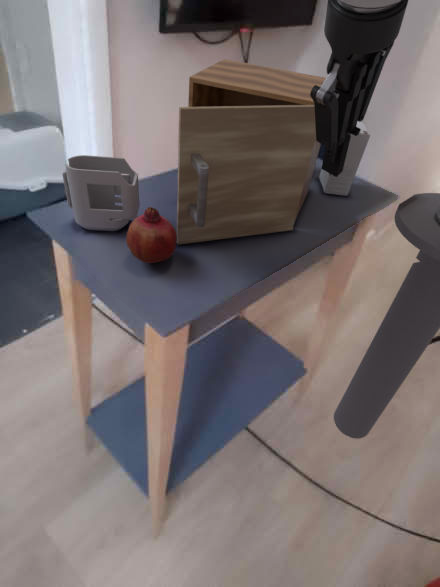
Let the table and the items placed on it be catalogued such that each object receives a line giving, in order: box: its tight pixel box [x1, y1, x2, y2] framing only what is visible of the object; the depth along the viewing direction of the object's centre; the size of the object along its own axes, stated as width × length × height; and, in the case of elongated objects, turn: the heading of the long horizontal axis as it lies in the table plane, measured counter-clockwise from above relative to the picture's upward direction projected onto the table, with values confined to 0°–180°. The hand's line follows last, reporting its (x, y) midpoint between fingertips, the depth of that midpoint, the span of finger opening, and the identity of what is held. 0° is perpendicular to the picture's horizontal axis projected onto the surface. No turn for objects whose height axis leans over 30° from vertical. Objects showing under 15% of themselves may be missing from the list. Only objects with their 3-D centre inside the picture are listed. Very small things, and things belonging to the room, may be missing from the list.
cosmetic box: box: [318, 120, 371, 197], centre depth 89 cm, size 8×6×15 cm
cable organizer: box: [62, 154, 141, 232], centre depth 70 cm, size 7×12×12 cm, turn 93°
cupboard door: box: [176, 105, 316, 245], centre depth 65 cm, size 6×24×23 cm, turn 110°
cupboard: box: [187, 58, 327, 224], centre depth 80 cm, size 18×24×24 cm
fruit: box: [125, 206, 177, 264], centre depth 64 cm, size 8×8×10 cm
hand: (331, 169), depth 59 cm, fingers closed
